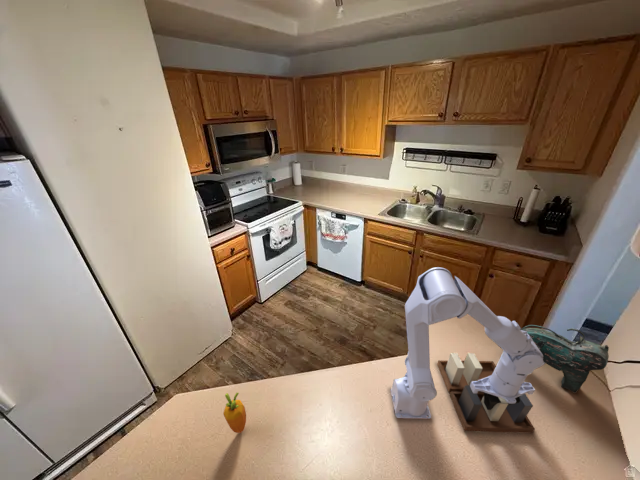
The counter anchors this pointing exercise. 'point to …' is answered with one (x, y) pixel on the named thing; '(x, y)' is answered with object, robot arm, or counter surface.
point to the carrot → (235, 414)
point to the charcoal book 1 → (469, 403)
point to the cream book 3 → (495, 409)
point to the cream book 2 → (471, 368)
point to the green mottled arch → (569, 355)
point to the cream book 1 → (454, 368)
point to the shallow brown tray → (486, 371)
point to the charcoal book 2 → (520, 409)
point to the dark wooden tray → (484, 422)
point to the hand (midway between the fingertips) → (491, 406)
